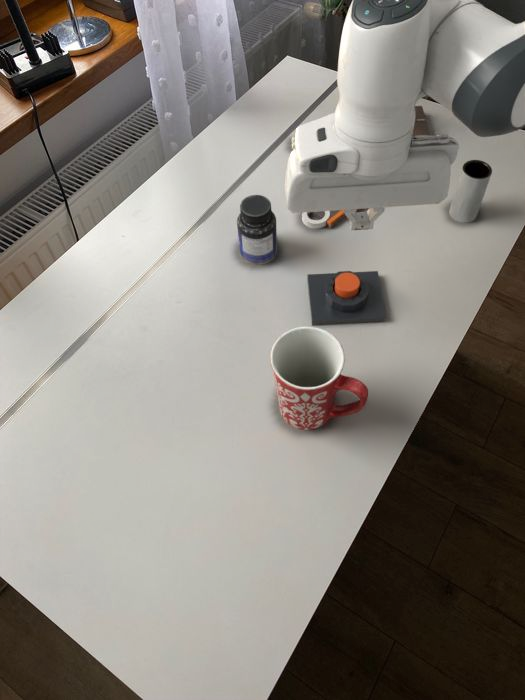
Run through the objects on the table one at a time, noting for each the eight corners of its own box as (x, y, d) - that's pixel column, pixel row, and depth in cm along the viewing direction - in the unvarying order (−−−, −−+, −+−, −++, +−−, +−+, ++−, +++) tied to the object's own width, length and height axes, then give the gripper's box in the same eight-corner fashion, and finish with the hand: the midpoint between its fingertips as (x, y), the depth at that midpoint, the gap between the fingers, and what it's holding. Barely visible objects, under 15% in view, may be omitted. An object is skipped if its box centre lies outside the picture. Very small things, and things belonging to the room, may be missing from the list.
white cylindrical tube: (461, 230, 101) (477, 182, 92) (442, 215, 103) (456, 166, 94) (480, 219, 102) (498, 171, 93) (461, 204, 104) (477, 155, 96)
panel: (418, 117, 118) (421, 102, 115) (428, 151, 112) (431, 136, 110) (362, 120, 118) (364, 105, 115) (369, 154, 112) (371, 139, 110)
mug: (260, 420, 83) (256, 368, 71) (292, 371, 87) (292, 315, 75) (343, 462, 79) (352, 415, 67) (372, 409, 83) (385, 356, 72)
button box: (376, 280, 96) (379, 263, 92) (384, 325, 91) (388, 309, 87) (306, 283, 96) (307, 266, 92) (311, 329, 91) (312, 313, 87)
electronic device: (293, 210, 101) (354, 165, 106) (293, 222, 104) (353, 177, 109) (321, 231, 99) (383, 183, 103) (321, 243, 101) (381, 196, 106)
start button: (357, 279, 91) (358, 271, 90) (360, 298, 89) (361, 290, 88) (333, 280, 91) (334, 273, 90) (335, 299, 89) (336, 291, 88)
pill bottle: (248, 237, 102) (244, 187, 92) (282, 246, 100) (281, 196, 91) (234, 263, 98) (228, 213, 89) (269, 273, 97) (267, 223, 88)
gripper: (456, 116, 71) (433, 205, 82) (282, 128, 71) (284, 214, 82) (469, 151, 67) (443, 238, 79) (286, 163, 67) (287, 248, 79)
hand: (360, 226), depth 81 cm, fingers closed
